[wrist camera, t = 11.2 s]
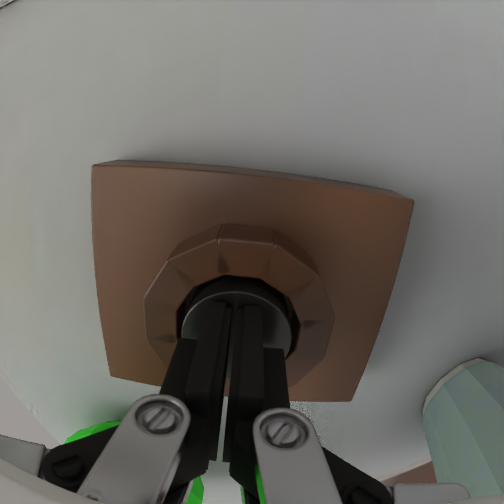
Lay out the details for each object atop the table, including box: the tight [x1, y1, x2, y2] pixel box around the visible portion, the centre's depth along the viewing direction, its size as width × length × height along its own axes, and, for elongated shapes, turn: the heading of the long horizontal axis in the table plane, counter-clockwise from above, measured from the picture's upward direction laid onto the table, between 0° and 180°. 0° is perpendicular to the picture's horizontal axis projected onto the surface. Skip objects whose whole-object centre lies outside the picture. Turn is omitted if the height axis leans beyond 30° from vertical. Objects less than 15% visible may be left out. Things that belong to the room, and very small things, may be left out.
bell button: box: [181, 275, 292, 379], centre depth 11 cm, size 4×4×2 cm
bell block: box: [91, 160, 414, 402], centre depth 12 cm, size 12×10×4 cm
